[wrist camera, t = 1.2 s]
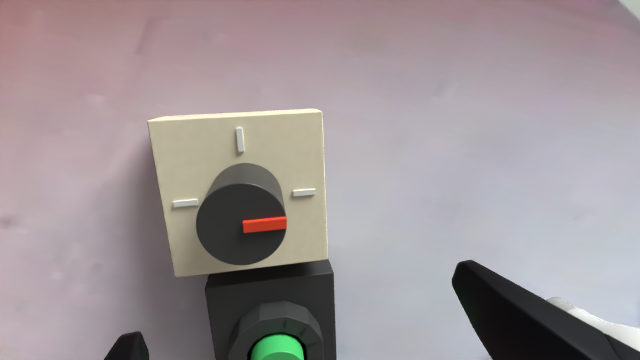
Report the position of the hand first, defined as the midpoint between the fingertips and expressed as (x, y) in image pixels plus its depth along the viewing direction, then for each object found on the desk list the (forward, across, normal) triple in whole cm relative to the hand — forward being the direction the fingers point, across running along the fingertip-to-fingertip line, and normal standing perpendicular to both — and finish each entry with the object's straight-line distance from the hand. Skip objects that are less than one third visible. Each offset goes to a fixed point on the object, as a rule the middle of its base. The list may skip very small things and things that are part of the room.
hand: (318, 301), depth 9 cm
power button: (+8, 0, +15) cm, 17 cm away
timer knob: (+12, +1, +4) cm, 12 cm away
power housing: (+11, 0, +16) cm, 20 cm away
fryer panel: (+15, +1, +5) cm, 15 cm away
